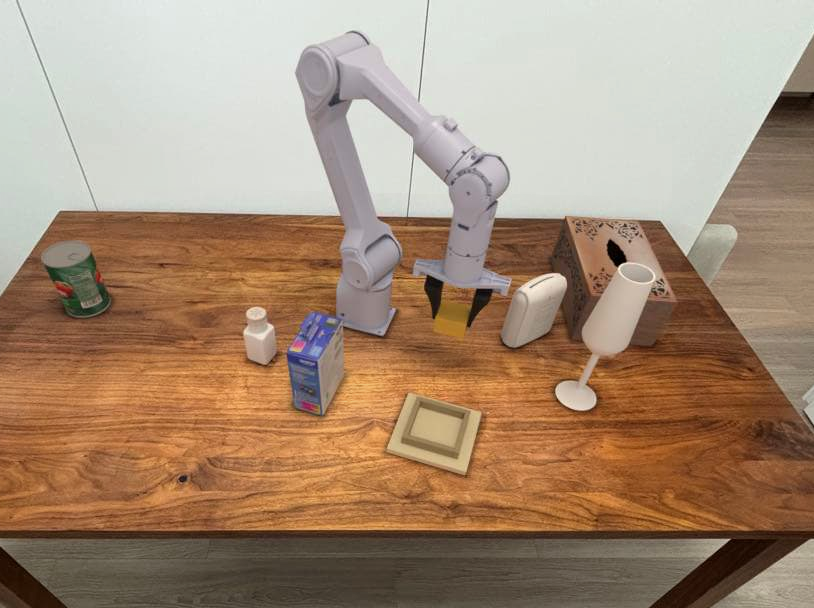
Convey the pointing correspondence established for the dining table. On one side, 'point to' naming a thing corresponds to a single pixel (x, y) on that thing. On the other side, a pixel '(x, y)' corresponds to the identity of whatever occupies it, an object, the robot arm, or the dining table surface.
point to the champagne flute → (609, 328)
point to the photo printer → (533, 309)
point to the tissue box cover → (607, 272)
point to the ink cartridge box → (316, 362)
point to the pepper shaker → (259, 336)
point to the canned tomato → (76, 278)
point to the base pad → (435, 433)
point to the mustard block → (452, 319)
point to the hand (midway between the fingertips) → (452, 319)
